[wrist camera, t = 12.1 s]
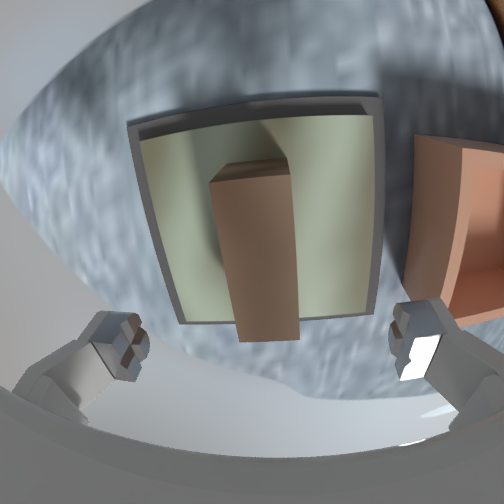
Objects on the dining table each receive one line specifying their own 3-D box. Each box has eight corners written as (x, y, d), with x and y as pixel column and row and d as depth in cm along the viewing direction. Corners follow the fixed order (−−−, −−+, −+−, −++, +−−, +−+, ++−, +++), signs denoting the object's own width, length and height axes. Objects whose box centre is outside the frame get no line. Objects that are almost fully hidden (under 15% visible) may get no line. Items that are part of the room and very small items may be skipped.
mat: (380, 97, 12) (382, 97, 12) (372, 310, 19) (373, 314, 18) (130, 126, 14) (126, 127, 14) (180, 320, 21) (179, 324, 20)
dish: (520, 148, 12) (567, 167, 7) (500, 271, 16) (532, 307, 12) (413, 134, 13) (462, 147, 9) (401, 284, 18) (428, 334, 13)
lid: (367, 115, 13) (405, 118, 8) (362, 304, 18) (380, 356, 14) (145, 139, 14) (98, 154, 10) (189, 314, 20) (169, 364, 15)
